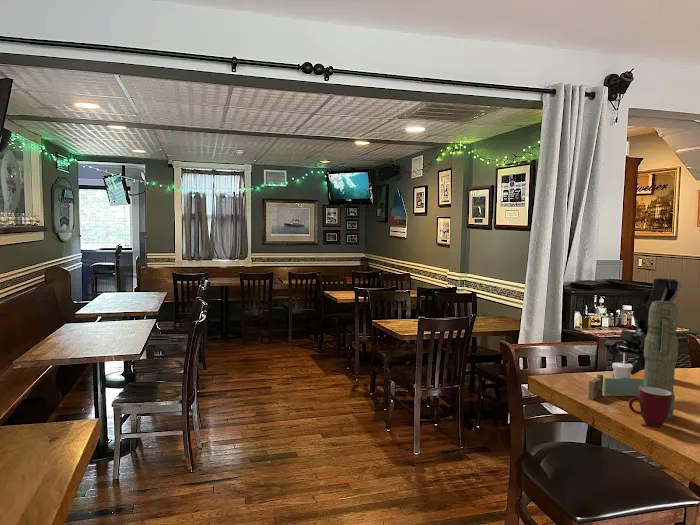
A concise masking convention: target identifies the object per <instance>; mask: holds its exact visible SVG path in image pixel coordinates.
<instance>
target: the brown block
mask: <svg viewBox="0 0 700 525" xmlns="http://www.w3.org/2000/svg"><path fill="white" fill-rule="evenodd" d="M612 376H613V377H612V378H614V374H613V375H612ZM603 391H604V374H600V373H598V374H596V377H595V378H593V379H591V380H589V381H588V400H591V401H594V400H596V399H598V398H599V397H602V396H603Z"/></svg>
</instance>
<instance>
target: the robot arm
mask: <svg viewBox="0 0 700 525" xmlns="http://www.w3.org/2000/svg"><path fill="white" fill-rule="evenodd" d="M680 291H681V282H680V281H678V279H676V278H664V277H658V278H653V282H652V290H651V293H650V296H649V298H648V300H647V302H645V303H643V304H641V306H640V307H637V308H635V309H634V310H633V311H632V316H633V317H632V318H633V320H634V324H635V325H634V326H635V327H636V330H635V331H631V330H626V329H622V330H621V332H620V335H619V339H620V340H622V341H623V342H622V344H624V345H625V346H622V345H621V344H620V342H619V341H616V340H614V339H606V340H605V342H604V344H603V345H604V347H605V348H606V350H607V352H608V353H609V354H610V355H612V356H611V363H610V364H611V365H610V368H611V370H613V367H612V364H613V363H616V362H621V361H623V356H622V354H623V353H625V354H629V355H632V356H636V357H638V359H637V361H636V363H635V364H634V365H633V369H632V371H631V376H632V375H633V376H634V375H636V374H637V373H639V372H640V371H643V370H645V357H644V344H645V338H646V336H647V333H648V329H649V326H648V317H649V309H650V306H651V304H652V302H655V301H656V300H661V301H671V302H674V301H675V299H676V298H678V294H679V292H680Z"/></svg>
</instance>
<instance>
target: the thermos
mask: <svg viewBox="0 0 700 525" xmlns="http://www.w3.org/2000/svg"><path fill="white" fill-rule="evenodd" d="M678 318H679V312H678V308H677V304H676V303H675V302H674V301H672V302H671V301H661V300H656V301H655V302H652V304H651V306H650V309H649V317H648V326H649V329H648V333H647V336H646V338H645V344H644V357H645V369H644V373H643V374H644V375H643V376H644V377H643V379H644V386H643V387H655V388H660V389H664V390H667V391H669V392H671V393H672V402H671V406H670V410H669V413H668V417H667V419H666V420H672V419H674V410H675V404H676V403H675V402H676V396H675V393H674V387H675V386H674V385H675V373H676V372H675V371H676V370H675V369H676V363H677V361H678V354H679V340H678V338H677V337H678V336H677V334H678V333H677V329H678Z"/></svg>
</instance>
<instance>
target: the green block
mask: <svg viewBox="0 0 700 525" xmlns="http://www.w3.org/2000/svg"><path fill="white" fill-rule="evenodd" d="M643 386H644V378H613V377H604V379H603V394H604V395H605V396H626V397H627V396H629V397H639V391H640V388H641V387H643Z"/></svg>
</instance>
